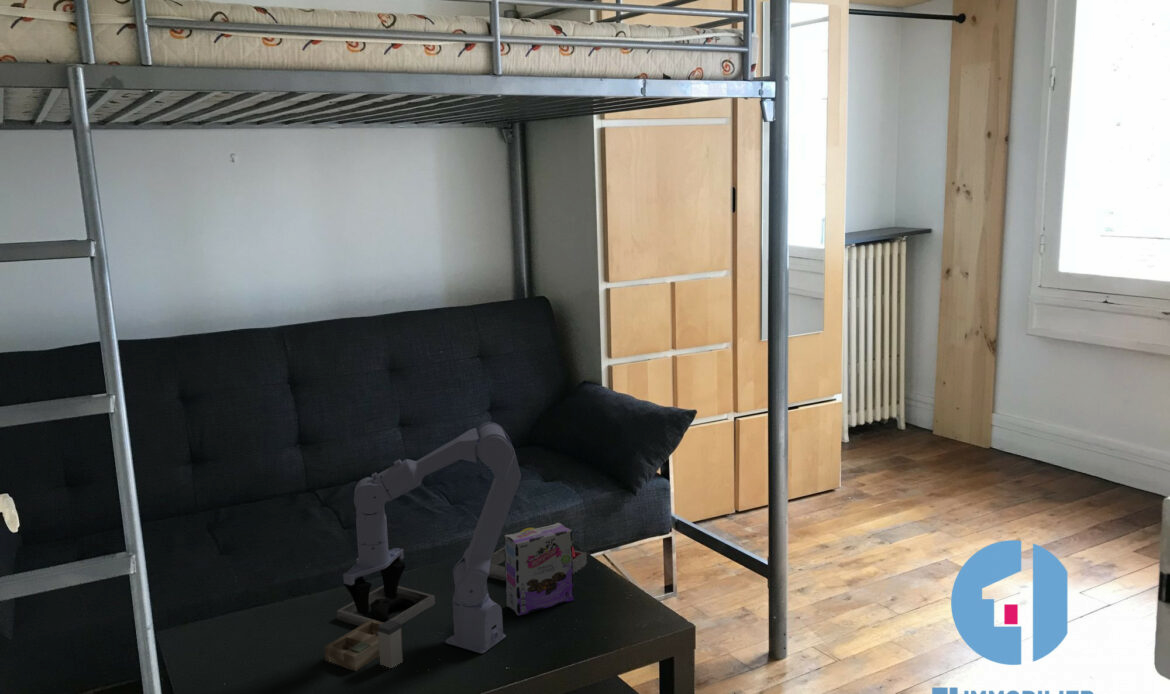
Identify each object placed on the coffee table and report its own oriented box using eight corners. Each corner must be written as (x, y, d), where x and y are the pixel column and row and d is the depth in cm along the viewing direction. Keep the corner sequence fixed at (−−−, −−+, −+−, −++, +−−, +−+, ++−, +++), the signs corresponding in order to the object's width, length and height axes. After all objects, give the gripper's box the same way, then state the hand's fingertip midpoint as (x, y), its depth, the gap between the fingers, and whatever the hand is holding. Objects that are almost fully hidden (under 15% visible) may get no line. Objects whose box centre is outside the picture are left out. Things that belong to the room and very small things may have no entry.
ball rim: (586, 564, 226) (586, 552, 226) (548, 591, 213) (547, 579, 212) (519, 549, 237) (518, 538, 236) (478, 574, 223) (477, 562, 222)
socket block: (402, 641, 192) (401, 626, 191) (355, 671, 181) (354, 655, 180) (372, 632, 196) (371, 617, 195) (325, 661, 185) (324, 645, 184)
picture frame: (434, 604, 208) (434, 595, 208) (385, 634, 195) (384, 625, 194) (388, 591, 215) (387, 582, 214) (337, 619, 202) (336, 610, 201)
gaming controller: (385, 621, 199) (370, 597, 201) (374, 633, 202) (360, 609, 204) (419, 604, 207) (405, 581, 208) (409, 615, 210) (394, 593, 211)
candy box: (518, 617, 201) (515, 543, 198) (505, 606, 206) (502, 534, 203) (574, 600, 208) (572, 529, 205) (561, 591, 213) (559, 521, 210)
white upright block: (402, 662, 184) (400, 623, 182) (392, 669, 181) (389, 630, 180) (391, 658, 185) (388, 620, 184) (380, 665, 183) (377, 626, 181)
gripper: (383, 524, 192) (387, 587, 195) (329, 548, 180) (334, 615, 183) (410, 530, 189) (413, 594, 191) (356, 556, 177) (361, 624, 179)
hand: (377, 605), depth 187 cm, fingers open, 7 cm apart
